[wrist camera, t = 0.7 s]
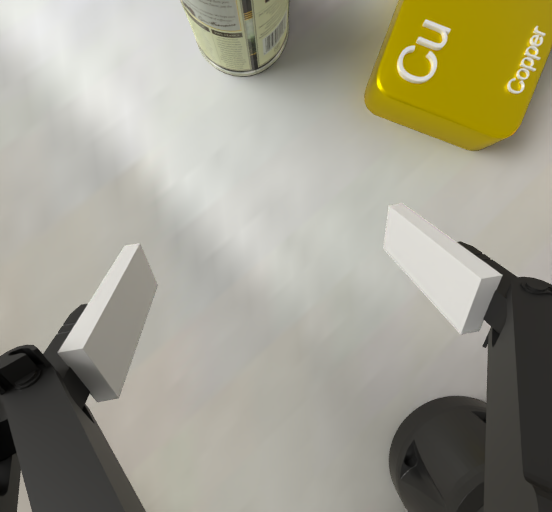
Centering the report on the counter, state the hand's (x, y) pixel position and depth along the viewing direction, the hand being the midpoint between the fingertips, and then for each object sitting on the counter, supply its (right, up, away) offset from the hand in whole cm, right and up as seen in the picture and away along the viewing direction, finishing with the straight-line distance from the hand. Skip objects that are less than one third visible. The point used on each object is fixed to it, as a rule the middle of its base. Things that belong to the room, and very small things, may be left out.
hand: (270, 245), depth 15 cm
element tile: (+19, +20, +16) cm, 32 cm away
